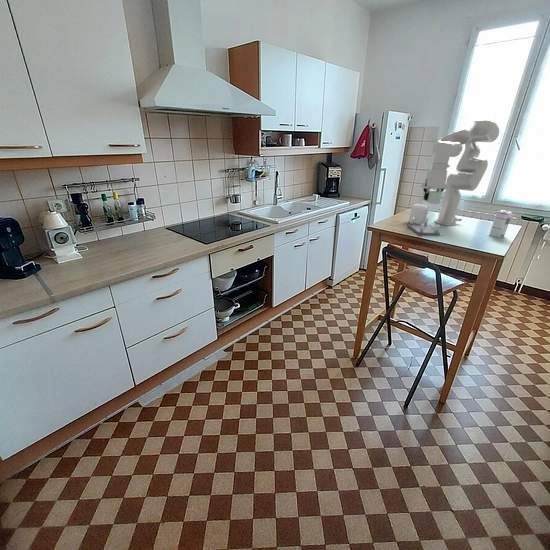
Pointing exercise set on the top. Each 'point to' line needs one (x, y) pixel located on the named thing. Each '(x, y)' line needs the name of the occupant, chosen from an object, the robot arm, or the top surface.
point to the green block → (433, 197)
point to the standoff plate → (426, 230)
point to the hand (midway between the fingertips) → (430, 199)
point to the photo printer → (418, 213)
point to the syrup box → (500, 223)
